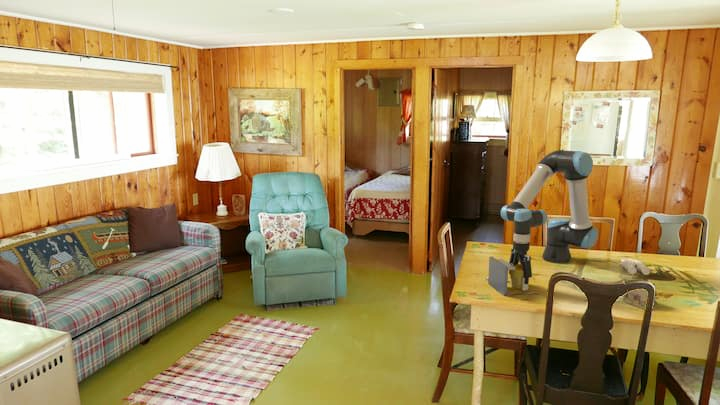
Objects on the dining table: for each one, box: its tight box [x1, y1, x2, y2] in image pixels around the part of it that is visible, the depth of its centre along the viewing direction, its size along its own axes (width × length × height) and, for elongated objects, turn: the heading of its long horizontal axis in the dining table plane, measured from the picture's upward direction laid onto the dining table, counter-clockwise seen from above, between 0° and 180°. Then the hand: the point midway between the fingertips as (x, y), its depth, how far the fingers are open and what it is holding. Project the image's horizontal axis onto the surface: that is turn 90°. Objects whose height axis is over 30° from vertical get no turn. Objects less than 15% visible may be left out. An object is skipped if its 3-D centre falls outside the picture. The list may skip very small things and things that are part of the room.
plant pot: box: [508, 263, 524, 290], centre depth 239 cm, size 10×10×10 cm
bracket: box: [487, 256, 540, 297], centre depth 238 cm, size 18×18×14 cm
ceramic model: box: [622, 289, 658, 311], centre depth 219 cm, size 14×11×10 cm
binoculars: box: [620, 258, 651, 276], centre depth 263 cm, size 10×16×5 cm, turn 169°
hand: (519, 285), depth 240 cm, fingers closed on plant pot, 10 cm apart
